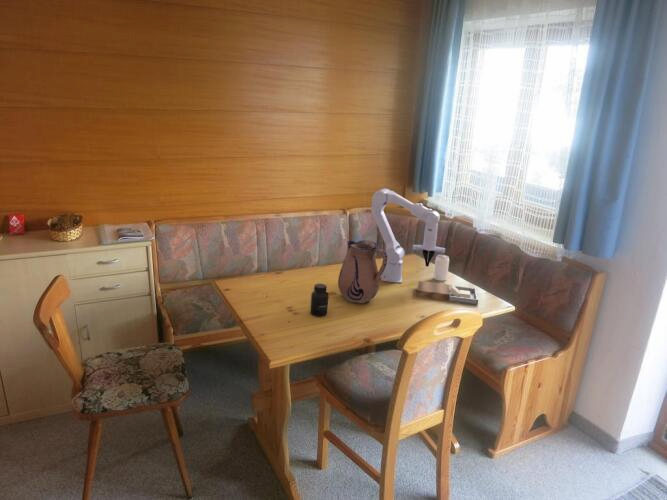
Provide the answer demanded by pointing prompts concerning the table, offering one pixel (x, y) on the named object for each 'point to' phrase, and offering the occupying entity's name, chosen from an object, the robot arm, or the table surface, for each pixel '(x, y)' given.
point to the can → (441, 267)
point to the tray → (472, 300)
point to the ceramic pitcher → (361, 272)
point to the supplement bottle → (319, 301)
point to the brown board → (433, 290)
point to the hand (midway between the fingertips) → (427, 265)
